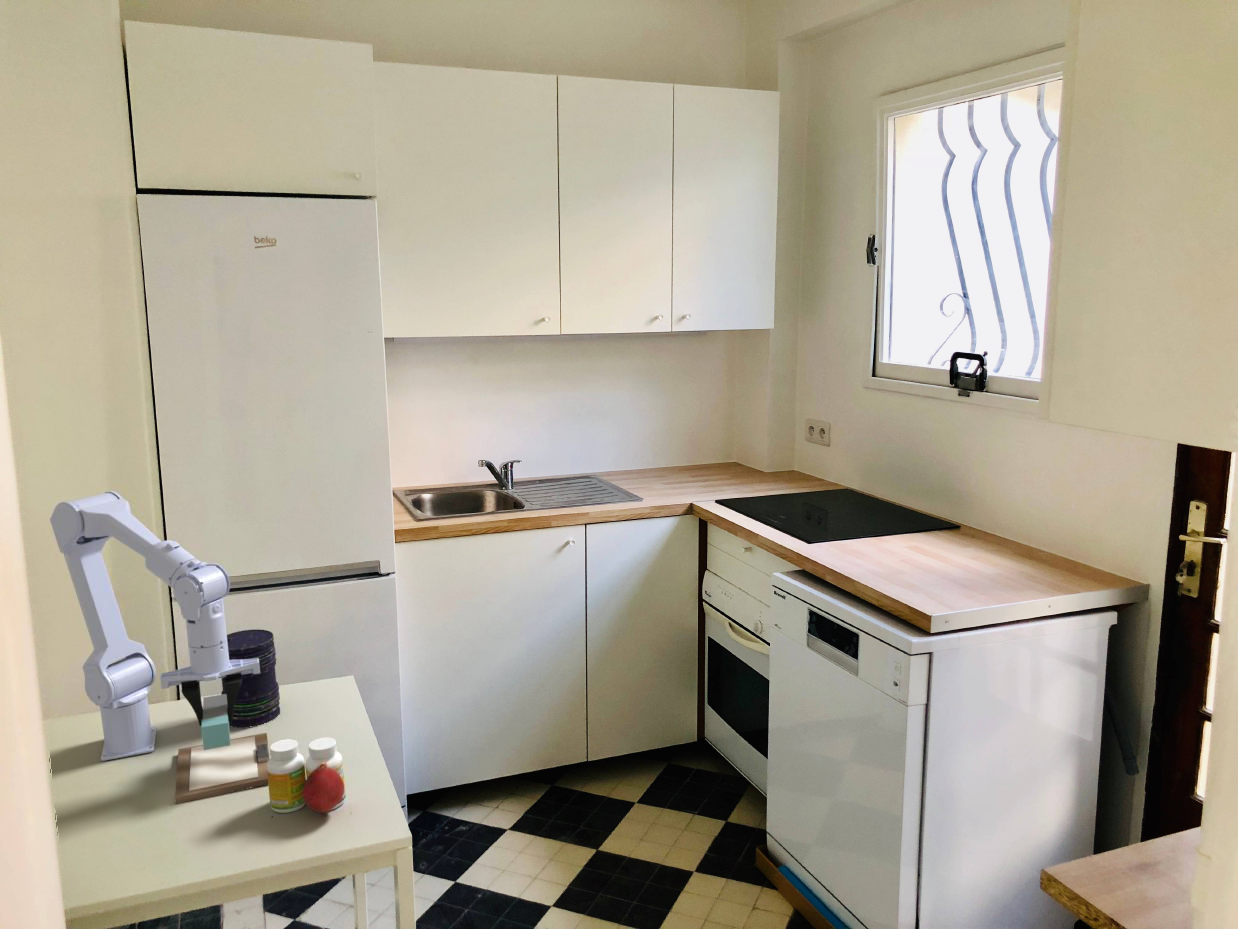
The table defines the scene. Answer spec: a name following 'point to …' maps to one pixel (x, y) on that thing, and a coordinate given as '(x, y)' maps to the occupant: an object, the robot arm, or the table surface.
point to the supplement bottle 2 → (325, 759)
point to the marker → (215, 722)
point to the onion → (323, 789)
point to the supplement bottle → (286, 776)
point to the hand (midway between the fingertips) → (216, 721)
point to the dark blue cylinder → (254, 678)
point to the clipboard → (222, 768)
